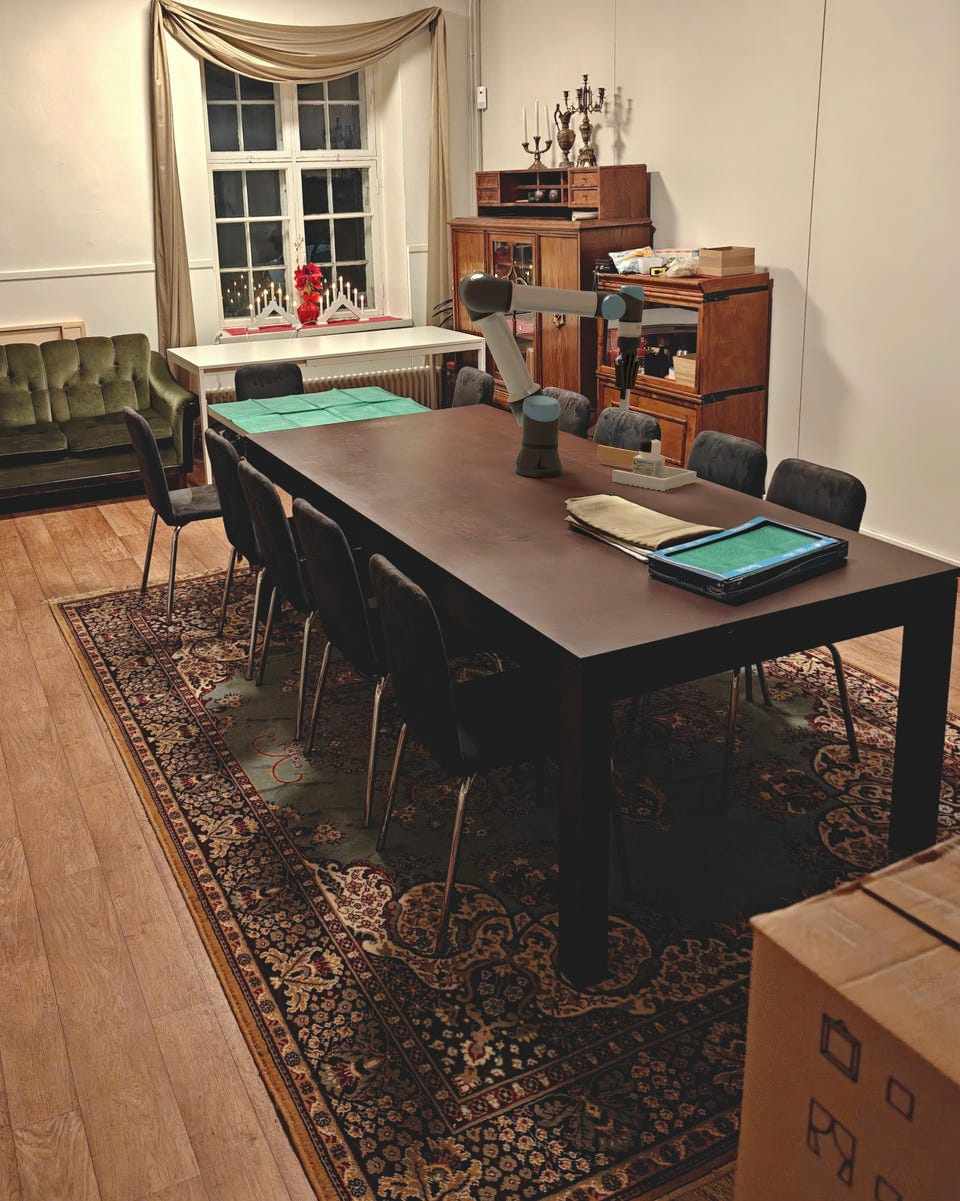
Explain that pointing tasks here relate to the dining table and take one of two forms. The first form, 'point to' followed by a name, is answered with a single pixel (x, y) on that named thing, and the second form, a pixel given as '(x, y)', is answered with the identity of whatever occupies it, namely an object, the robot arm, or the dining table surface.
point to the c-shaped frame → (653, 481)
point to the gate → (616, 454)
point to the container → (649, 459)
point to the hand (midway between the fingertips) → (624, 409)
